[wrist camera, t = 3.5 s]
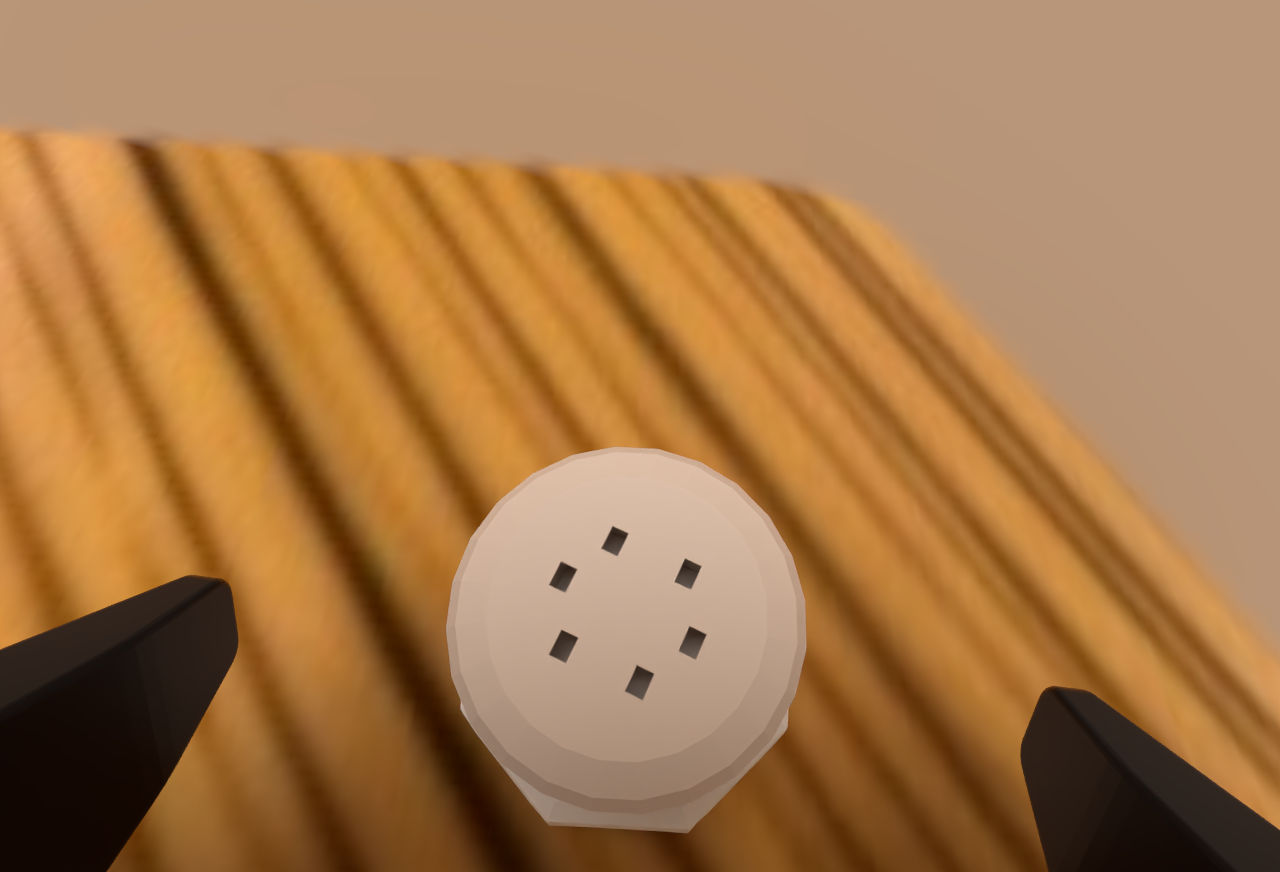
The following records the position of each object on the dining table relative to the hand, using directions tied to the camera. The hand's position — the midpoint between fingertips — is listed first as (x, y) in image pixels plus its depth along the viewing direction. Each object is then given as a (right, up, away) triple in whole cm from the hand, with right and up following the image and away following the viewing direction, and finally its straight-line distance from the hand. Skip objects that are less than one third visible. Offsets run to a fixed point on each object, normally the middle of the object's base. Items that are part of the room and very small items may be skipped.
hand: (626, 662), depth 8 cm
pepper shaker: (0, -3, +8) cm, 8 cm away
